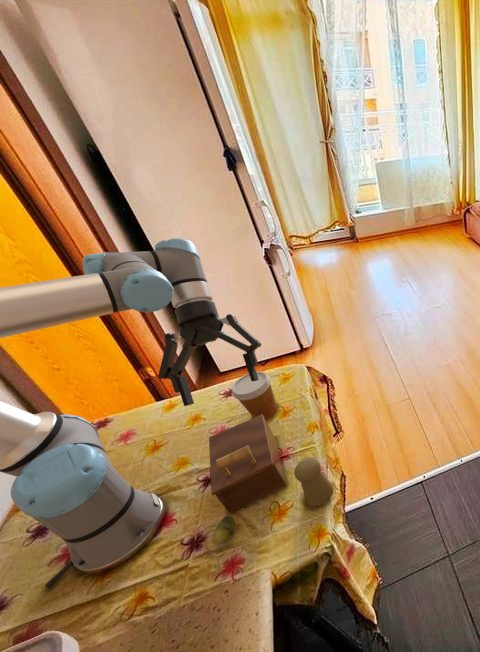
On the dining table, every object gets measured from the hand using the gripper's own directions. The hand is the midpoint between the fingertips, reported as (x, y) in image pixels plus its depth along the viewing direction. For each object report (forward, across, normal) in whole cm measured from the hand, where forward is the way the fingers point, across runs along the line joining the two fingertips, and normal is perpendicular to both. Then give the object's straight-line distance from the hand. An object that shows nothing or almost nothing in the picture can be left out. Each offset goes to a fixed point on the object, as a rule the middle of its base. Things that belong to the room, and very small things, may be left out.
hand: (223, 392), depth 81 cm
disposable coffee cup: (+8, 0, -26) cm, 27 cm away
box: (+20, +2, -10) cm, 23 cm away
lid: (+14, +2, -4) cm, 15 cm away
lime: (+29, +7, 0) cm, 30 cm away
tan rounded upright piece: (+30, -12, -1) cm, 32 cm away
